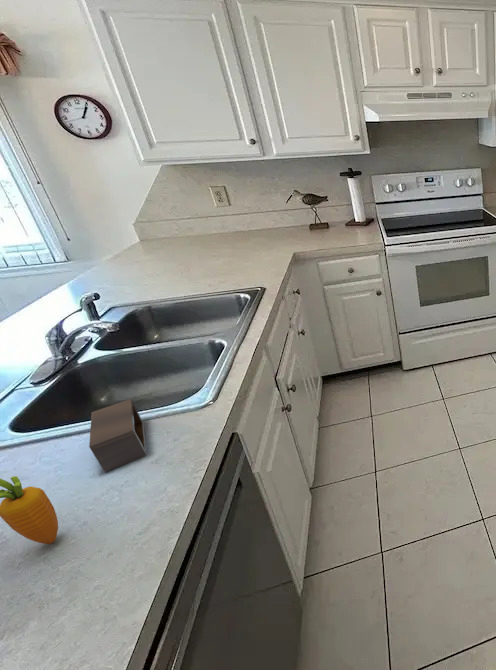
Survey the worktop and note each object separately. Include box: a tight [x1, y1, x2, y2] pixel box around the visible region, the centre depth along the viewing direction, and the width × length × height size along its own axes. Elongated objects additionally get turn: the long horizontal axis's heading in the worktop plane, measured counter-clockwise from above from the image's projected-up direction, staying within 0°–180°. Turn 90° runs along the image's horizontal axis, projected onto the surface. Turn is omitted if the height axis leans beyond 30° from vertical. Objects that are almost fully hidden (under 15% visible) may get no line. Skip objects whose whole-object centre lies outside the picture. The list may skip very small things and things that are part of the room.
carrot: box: [0, 475, 59, 545], centre depth 66 cm, size 5×5×15 cm
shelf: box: [88, 398, 147, 474], centre depth 87 cm, size 13×7×7 cm, turn 41°
